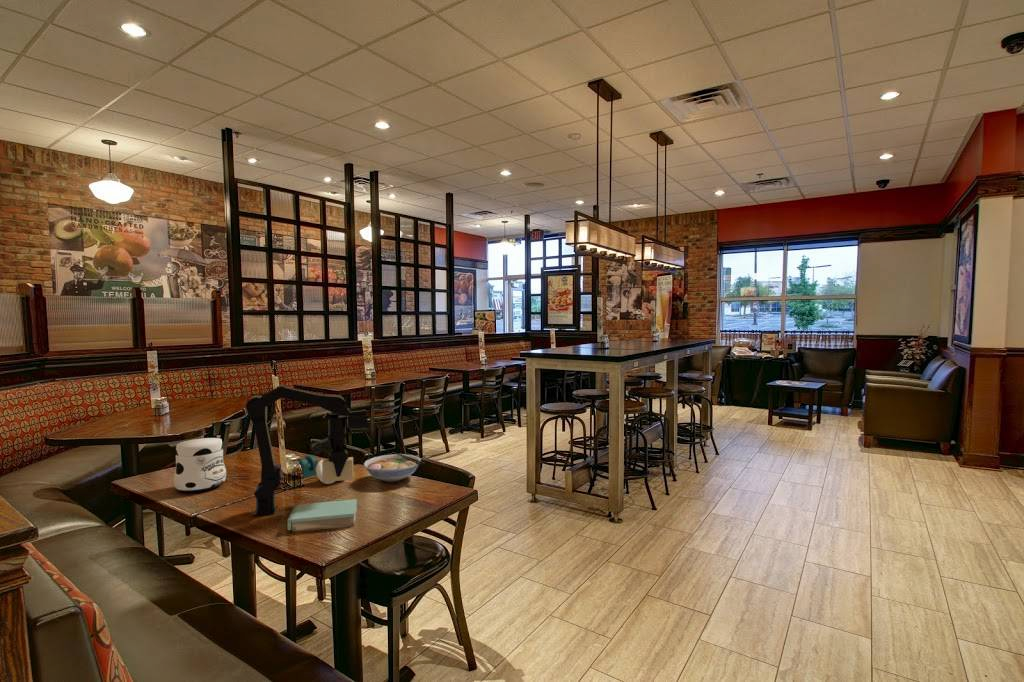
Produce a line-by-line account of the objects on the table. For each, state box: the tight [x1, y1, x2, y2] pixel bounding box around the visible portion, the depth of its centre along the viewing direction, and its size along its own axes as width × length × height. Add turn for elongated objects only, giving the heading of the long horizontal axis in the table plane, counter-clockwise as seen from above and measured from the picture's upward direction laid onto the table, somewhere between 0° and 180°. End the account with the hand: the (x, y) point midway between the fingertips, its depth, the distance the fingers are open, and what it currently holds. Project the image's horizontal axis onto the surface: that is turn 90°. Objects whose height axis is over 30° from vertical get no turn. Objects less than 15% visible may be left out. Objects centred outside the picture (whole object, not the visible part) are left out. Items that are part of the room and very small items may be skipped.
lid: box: [287, 498, 358, 531], centre depth 156 cm, size 13×19×3 cm
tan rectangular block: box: [322, 456, 354, 483], centre depth 173 cm, size 4×10×7 cm, turn 105°
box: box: [291, 503, 358, 533], centre depth 156 cm, size 13×18×3 cm
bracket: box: [281, 454, 319, 479], centre depth 208 cm, size 18×7×8 cm, turn 60°
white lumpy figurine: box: [316, 459, 336, 485], centre depth 198 cm, size 11×12×9 cm
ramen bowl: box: [363, 451, 426, 483], centre depth 199 cm, size 25×23×8 cm
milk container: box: [173, 437, 227, 493], centre depth 190 cm, size 17×17×18 cm
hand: (338, 474), depth 173 cm, fingers closed on tan rectangular block, 4 cm apart
